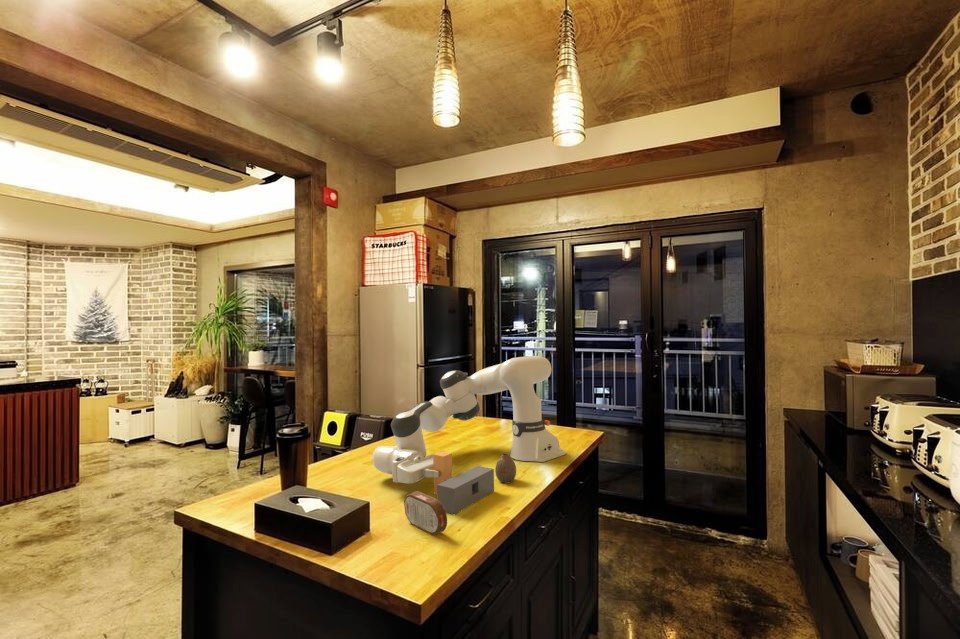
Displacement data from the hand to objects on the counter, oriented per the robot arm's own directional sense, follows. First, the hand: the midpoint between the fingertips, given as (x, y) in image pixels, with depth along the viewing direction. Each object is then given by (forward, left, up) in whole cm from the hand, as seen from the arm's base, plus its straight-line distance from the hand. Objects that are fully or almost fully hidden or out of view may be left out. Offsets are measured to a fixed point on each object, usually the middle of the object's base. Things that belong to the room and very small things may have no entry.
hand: (445, 471), depth 137 cm
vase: (-22, 0, -7) cm, 23 cm away
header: (-3, +8, -7) cm, 11 cm away
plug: (-1, +1, -7) cm, 7 cm away
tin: (+15, +17, -7) cm, 24 cm away
